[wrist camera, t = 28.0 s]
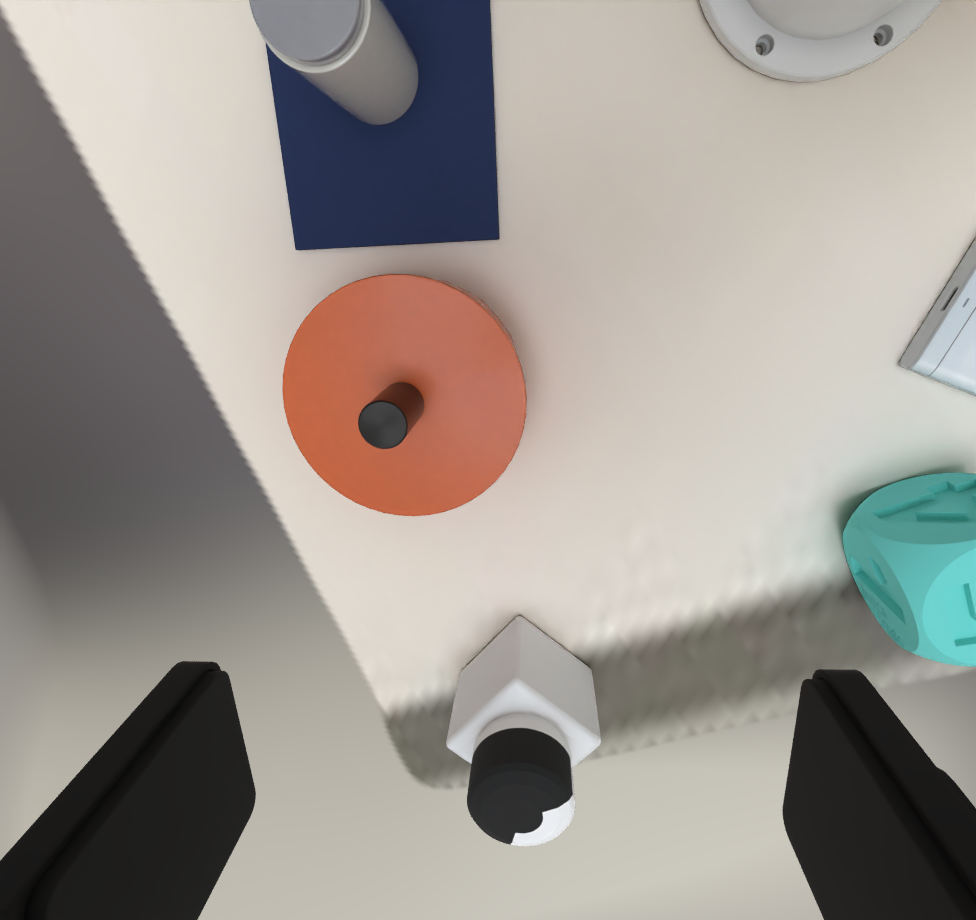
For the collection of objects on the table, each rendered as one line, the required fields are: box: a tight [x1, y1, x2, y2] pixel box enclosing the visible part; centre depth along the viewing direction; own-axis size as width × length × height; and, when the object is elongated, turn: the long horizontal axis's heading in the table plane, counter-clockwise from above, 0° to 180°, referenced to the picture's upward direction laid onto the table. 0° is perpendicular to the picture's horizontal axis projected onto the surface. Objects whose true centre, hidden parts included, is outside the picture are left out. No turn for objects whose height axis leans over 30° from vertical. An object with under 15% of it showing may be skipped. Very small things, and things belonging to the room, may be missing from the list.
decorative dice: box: [843, 473, 976, 667], centre depth 34 cm, size 8×8×8 cm
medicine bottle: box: [446, 616, 601, 846], centre depth 38 cm, size 7×7×12 cm
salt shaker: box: [249, 0, 418, 125], centre depth 26 cm, size 5×5×10 cm
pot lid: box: [283, 274, 526, 516], centre depth 30 cm, size 13×13×6 cm
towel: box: [266, 0, 499, 250], centre depth 31 cm, size 17×12×1 cm
